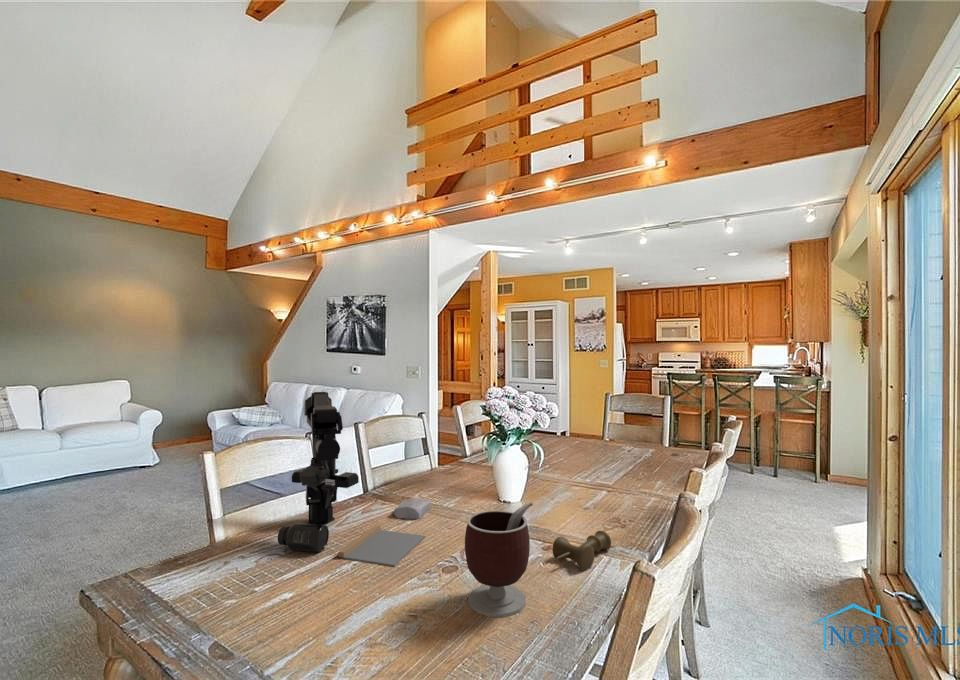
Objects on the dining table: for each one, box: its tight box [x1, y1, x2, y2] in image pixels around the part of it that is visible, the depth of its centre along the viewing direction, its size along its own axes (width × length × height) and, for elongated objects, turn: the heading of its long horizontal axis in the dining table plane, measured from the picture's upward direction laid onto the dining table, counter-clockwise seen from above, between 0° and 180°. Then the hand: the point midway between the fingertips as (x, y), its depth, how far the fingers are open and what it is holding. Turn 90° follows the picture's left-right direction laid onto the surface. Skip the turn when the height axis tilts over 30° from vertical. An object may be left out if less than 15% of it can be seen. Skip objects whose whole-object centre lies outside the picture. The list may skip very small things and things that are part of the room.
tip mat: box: [337, 524, 426, 567], centre depth 129 cm, size 16×19×2 cm
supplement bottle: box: [277, 522, 330, 553], centre depth 127 cm, size 7×7×12 cm
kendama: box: [551, 530, 612, 571], centre depth 122 cm, size 6×10×20 cm
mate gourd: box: [464, 501, 534, 618], centre depth 102 cm, size 16×14×20 cm
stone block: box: [393, 497, 432, 520], centre depth 156 cm, size 12×5×10 cm
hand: (324, 508), depth 135 cm, fingers closed
